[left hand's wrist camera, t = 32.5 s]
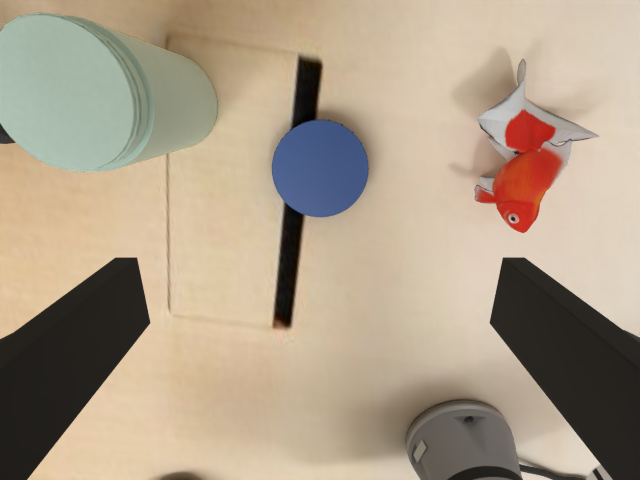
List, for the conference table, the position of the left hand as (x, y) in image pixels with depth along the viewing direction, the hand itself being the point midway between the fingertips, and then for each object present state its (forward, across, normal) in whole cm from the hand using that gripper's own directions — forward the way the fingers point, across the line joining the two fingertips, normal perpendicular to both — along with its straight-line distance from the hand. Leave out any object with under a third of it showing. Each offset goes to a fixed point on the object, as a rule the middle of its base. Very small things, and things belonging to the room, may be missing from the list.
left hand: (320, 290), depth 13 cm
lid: (+26, 0, 0) cm, 26 cm away
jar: (+27, +15, -7) cm, 32 cm away
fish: (+27, -19, -3) cm, 34 cm away
